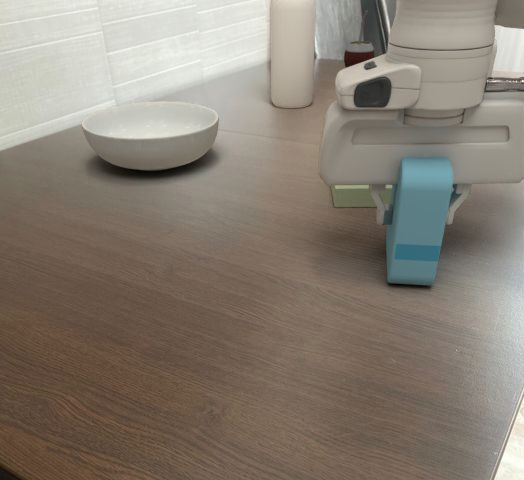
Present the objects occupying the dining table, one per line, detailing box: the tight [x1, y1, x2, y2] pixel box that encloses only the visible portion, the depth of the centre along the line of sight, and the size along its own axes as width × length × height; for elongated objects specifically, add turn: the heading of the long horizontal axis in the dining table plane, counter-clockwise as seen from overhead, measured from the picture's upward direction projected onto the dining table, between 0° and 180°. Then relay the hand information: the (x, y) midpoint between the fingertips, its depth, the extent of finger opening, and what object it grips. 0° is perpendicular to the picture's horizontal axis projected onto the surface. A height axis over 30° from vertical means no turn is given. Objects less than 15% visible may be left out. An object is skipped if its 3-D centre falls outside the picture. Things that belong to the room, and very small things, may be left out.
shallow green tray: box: [330, 185, 392, 208], centre depth 79 cm, size 14×18×3 cm
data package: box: [385, 157, 453, 286], centre depth 57 cm, size 12×4×12 cm, turn 171°
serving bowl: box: [80, 100, 220, 172], centre depth 87 cm, size 21×21×7 cm
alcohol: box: [269, 0, 317, 109], centre depth 108 cm, size 9×9×30 cm
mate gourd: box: [343, 10, 375, 68], centre depth 128 cm, size 8×8×15 cm
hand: (412, 222), depth 58 cm, fingers closed on data package, 5 cm apart
